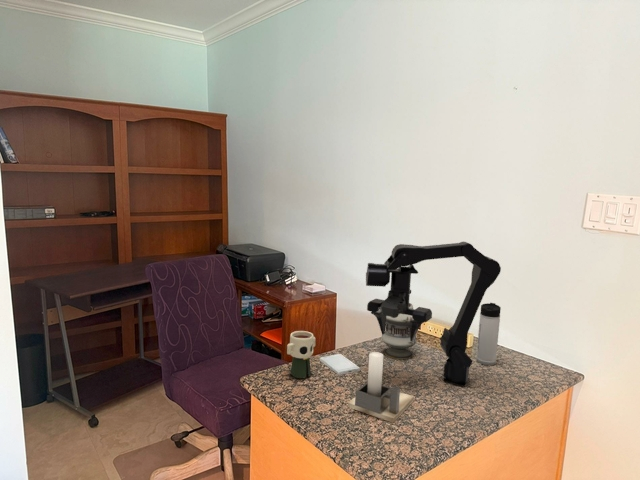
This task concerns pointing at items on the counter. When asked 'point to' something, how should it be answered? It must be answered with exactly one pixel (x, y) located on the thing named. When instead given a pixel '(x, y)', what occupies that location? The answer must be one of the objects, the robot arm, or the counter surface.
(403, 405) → the mounting board
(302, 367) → the character mug
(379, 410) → the cup bracket
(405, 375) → the counter surface
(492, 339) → the travel mug
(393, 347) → the apothecary jar
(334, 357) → the hard drive
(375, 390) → the white tall cylinder
